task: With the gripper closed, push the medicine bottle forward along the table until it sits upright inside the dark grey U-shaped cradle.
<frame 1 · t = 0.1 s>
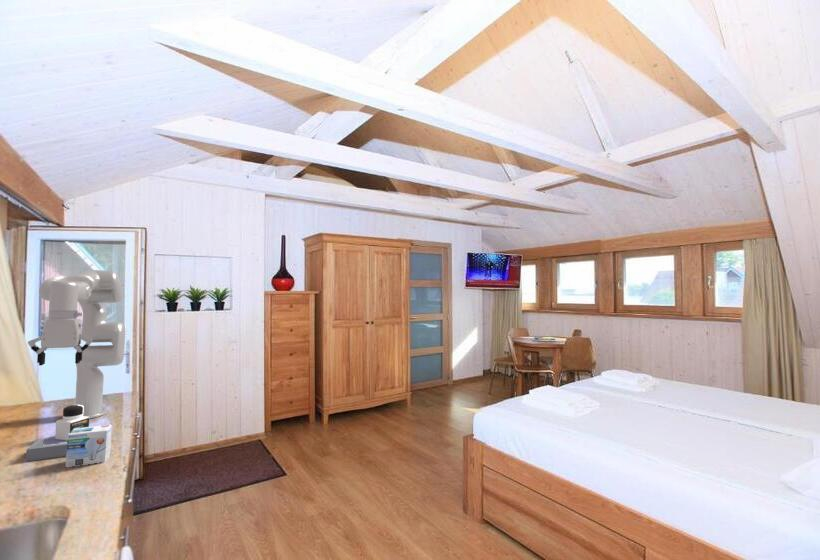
hand: (60, 363, 135), 31 cm above the counter, tool pointing down, fingers open, 9 cm apart
cradle: (58, 452, 135), on the counter
light bulb box: (88, 461, 128), on the counter
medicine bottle: (72, 437, 149), on the counter
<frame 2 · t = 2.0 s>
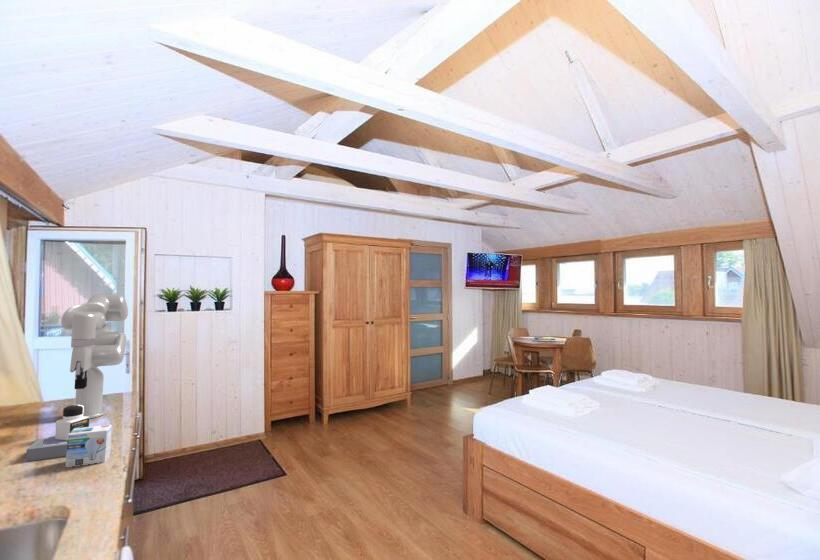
hand: (80, 387, 157), 17 cm above the counter, tool pointing down, fingers closed
nothing on the counter moved.
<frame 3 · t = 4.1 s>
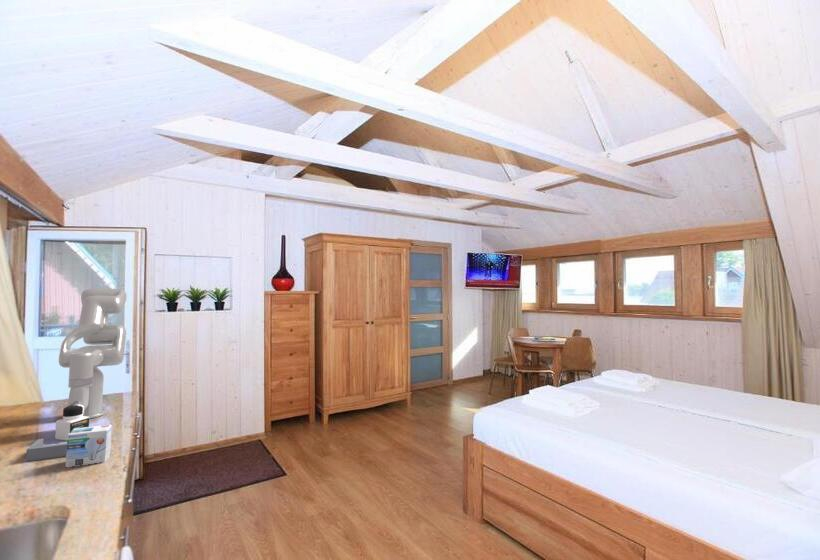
hand: (78, 427, 156), 1 cm above the counter, tool pointing down, fingers closed
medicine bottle: (72, 437, 149), on the counter, touching gripper
everything else where it was.
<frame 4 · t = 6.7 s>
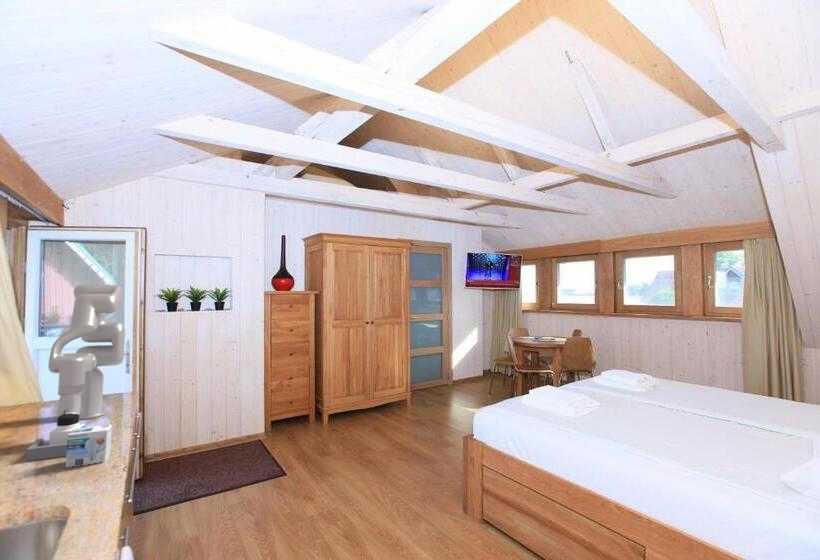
hand: (68, 437, 145), 1 cm above the counter, tool pointing down, fingers closed
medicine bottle: (66, 448, 139), on the counter, touching gripper
everything else where it was.
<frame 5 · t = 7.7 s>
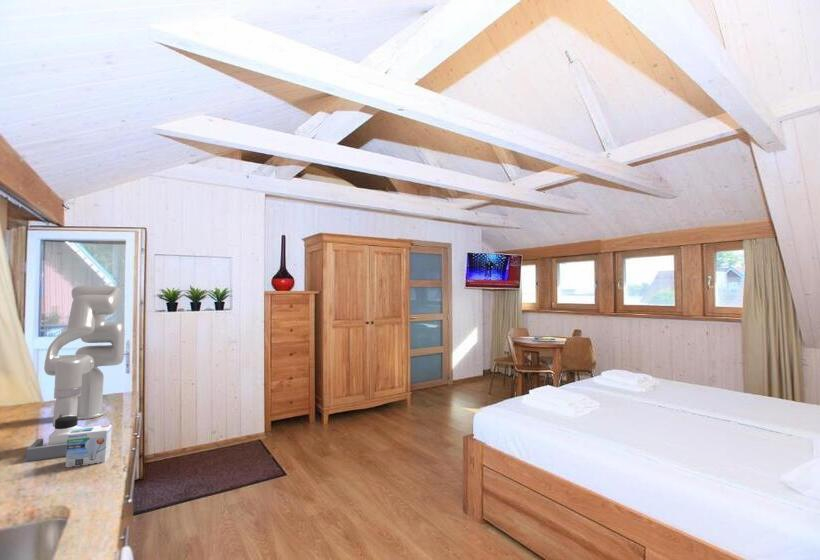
hand: (65, 441, 141), 1 cm above the counter, tool pointing down, fingers closed
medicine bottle: (64, 451, 136), on the counter, touching cradle, gripper
everything else where it was.
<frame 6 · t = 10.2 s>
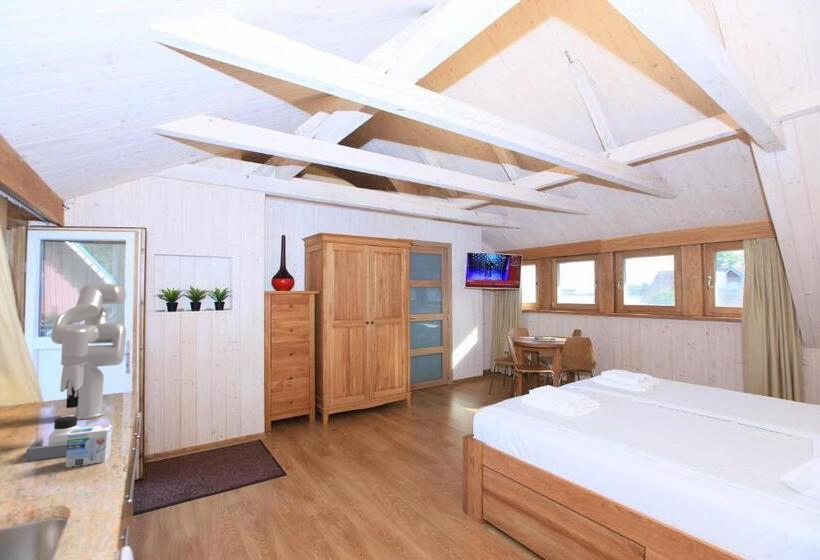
hand: (72, 406, 147), 12 cm above the counter, tool pointing down, fingers closed
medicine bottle: (64, 451, 136), on the counter
everything else where it was.
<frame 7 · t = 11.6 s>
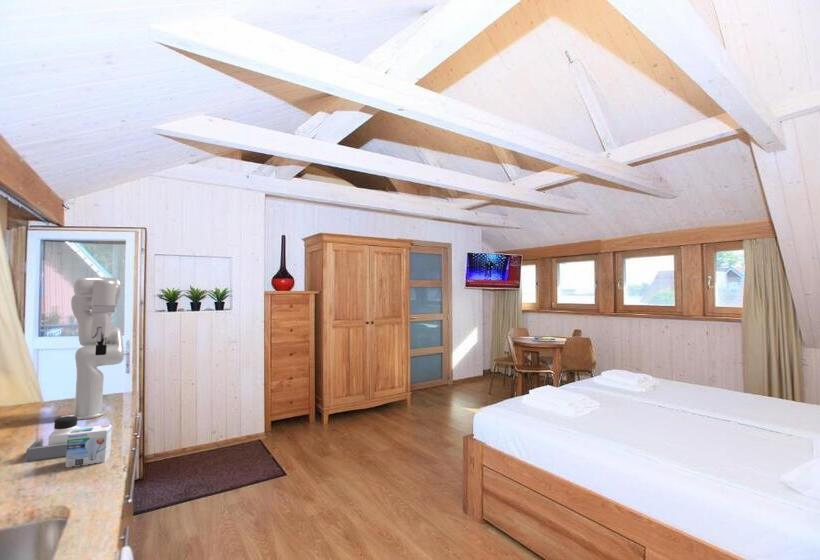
hand: (100, 354, 156), 31 cm above the counter, tool pointing down, fingers closed
nothing on the counter moved.
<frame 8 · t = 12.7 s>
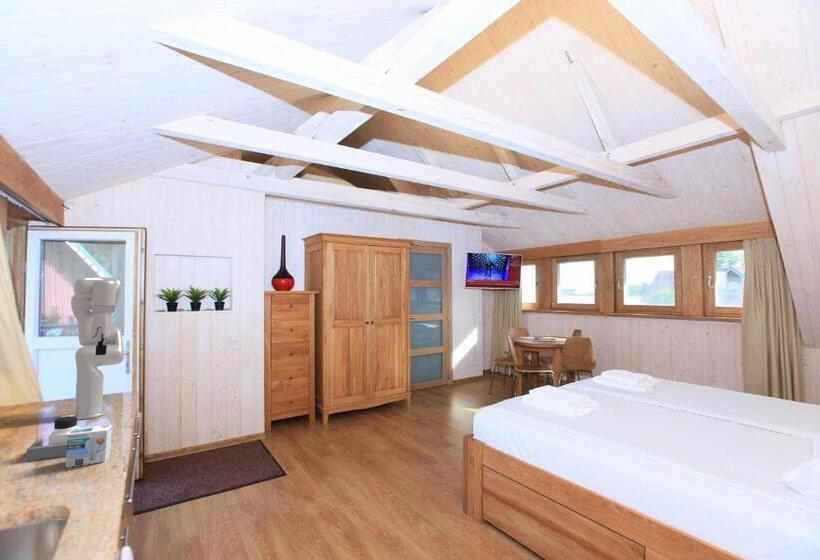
hand: (100, 354, 156), 31 cm above the counter, tool pointing down, fingers closed
nothing on the counter moved.
at the end: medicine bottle 1.6 cm from the cradle (horizontally); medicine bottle tilted 0°; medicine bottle moved 15.4 cm from its start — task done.
